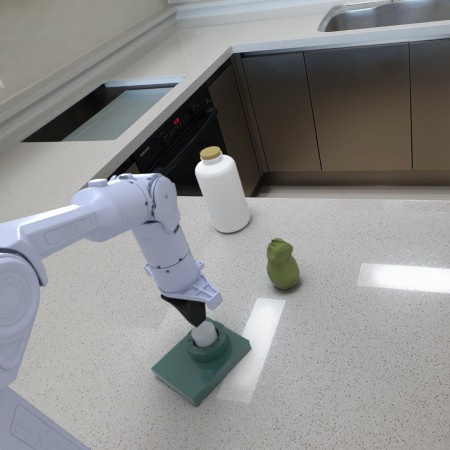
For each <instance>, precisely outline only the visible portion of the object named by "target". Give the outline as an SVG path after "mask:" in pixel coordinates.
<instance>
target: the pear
mask: <svg viewBox="0 0 450 450" xmlns="http://www.w3.org/2000/svg"><path fill="white" fill-rule="evenodd" d="M293 251H294V246H293V244H291V243H289V242H287V241H285V240H284V239H282V238H280V237H275V238H271V241H270V242H269V243H267V247H266V259H267V264H266V273H267V277H268V278H269V280H270V282H271V283H272V284H273V285H274V286H275V287H277V288H278V289H280V290H288V289H291V288H292V287H294V286H295V285H296V284H297V283H298V281H299V279H300V277H301V276H300V275H301V271H300V268H299V265H298V262H297V260H296V259H295V257H294V255H293Z"/></svg>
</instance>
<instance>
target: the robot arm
mask: <svg viewBox="0 0 450 450" xmlns="http://www.w3.org/2000/svg"><path fill="white" fill-rule="evenodd" d="M87 185H88V187H85V188H83V189H80V190H78V191H77V192H76V193H74V195H73V196H72V197H71V199H70V201H69V204H68V205H67V206H64V207H60V208H55V209H52V210H49V211H43V212H40V213H36V214H32V215H28V216H24V217H20V218H16V219H12V220H8V221H4V222H0V450H92V449H91V448H90V447H89V446H87V445H86V444H85V443H84V442H82V441H81V440H79V439H78V438H77V437H76V436H74V435H73V434H71V432H69V431H68V430H67V429H66V428H63V426H61V425H60V424H59V423H57V422H56V421H55V420H53V419H52V418H50V417H49V416H48V415H47V414H46V413H44V412H43V411H42V410H40V409H39V408H38V407H36V406H35V405H34V404H32V403H31V402H29V401H28V400H27V399H26V398H24V397H23V396H22V395H20V394H19V393H17V392H16V391H15V390H14V389H12V388H11V387H10V385H11V384H12V383H14V382H15V381H16V380H17V378H18V374H19V372H20V368H21V365H22V361H23V358H24V355H25V352H26V349H27V345H28V343H29V340H30V337H31V333H32V330H33V327H34V324H35V321H36V318H37V315H38V310H39V306H40V300H41V287H42V288H43V287H44V288H45V287H46V286H47V285H48V282H49V280H48V279H49V278H48V274H47V270H46V268H45V265H44V263H43V260H44V259H46V258H48V257H50V256H52V255H54V254H56V253H58V252H60V251H62V250H64V249H66V248H68V247H70V246H71V245H73V244H76V243H77V242H79V241H82V240H87V241H88V242H89V241H90V242H93V243H103V242H107V241H109V240H111V239H113V238H115V237H117V236H120V235H122V234H125V233H127V232H129V231H131V232H132V235H133V237H134V239H135V241H136V242H137V244H138V247H139V249H140V251H141V253H142V255H143V258H144V259H145V261H146V263H145V264H143V266H142V267H143V269H144V271H145V273H146V274H147V276H148V277H150V278H151V279H152V280H153V282H154V284H155V285H156V287H157V289H158V291H159V292H160V298H161V299H162V300H163V301H165V302H167V303H168V304H170V305H171V306H172V307H174V308H175V309H176V310H177V311H178V313H180V314H181V315H182V317H183V318H184V319H185V320H186V321H187V322H188V323H189V324H190V325H191V326H193V327H194V326H195V327H196V328H197V327H198V326H199V325H201V324H202V323H203V322H204V321H205V320H206V317H207V310H206V309H209V310H210V311H212V312H213V311H214V310H216V309H217V308H218V307H219V306H220V305H221V304H222V303H223V302H224V299H223V297H222V295H221V293H220V290H218V289H216V288H215V287H214V286H213V285H212V284H211V282H210V280H209V279H208V278H207V276H206V275H205V273H204V272H203V271H202V270H203V269H204V268H205V263H204V261H202V260H201V259H198V258H194V255H193V253H192V251H191V248H190V246H189V245H190V244H189V243H188V241H187V238H186V236H185V232H184V230H183V228H182V225H181V224H180V221H181V220H182V218H181V212H180V209H179V206H178V192H177V188H176V184H175V182H172V181H171V180H170V178H168V177H166V176H164V175H162V173H160V172H155V173H138V174H133V173H122V174H119V175H116V174H114V175H112V176H111V177H110V179H109V180H108V179H107V178H98V179H92V180H88V181H87ZM206 307H207V308H206Z"/></svg>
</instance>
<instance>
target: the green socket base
mask: <svg viewBox="0 0 450 450" xmlns="http://www.w3.org/2000/svg"><path fill="white" fill-rule="evenodd" d="M205 321H209V322H211V323H212V324H213V325H214V327H215V329H216V332H217V334H218V337H217V340H216V342H215V343H214V344H213V345H211V346H209V347H206V348H200V347H198V346H197V345H196V344H195V342H194V340H193V338H192V335H191V332H192V329H193V328H191V329H190V330H189V331H188V332H187V334H186V335H185V336H184V337H183V338H182V339H180V341H178V342H177V343H176V345H174V346H173V347H172V348H171V349H170V350H169V351H167V353H166V354H164V356H162V358H160V359H159V360H158V361H157V362H156V363H155V364H154V365H153V366H152V367H150V370H151V372H152V374H153V375H154V377H156V378H157V379H159V380H160V381H161V382H163V383H164V384H165V385H167V387H168V388H169V387H170V388H171V389H172V390H173V391H175V392H176V393H177V394H179V395H180V396H181V397H183V398H184V399H185V400H187V401H188V402H189V403H191V404H192V405H193V406H195V407H198V406H199V405H200V404H201V403H203V401H204V400H205V399H206V397H207V396H208V395H210V393H212V391H213V390H214V389H215V388H216V387H217V386H218V385H219V384H220V382H222V381H223V379H224V378H225V377H227V375H228V374H229V373H230V372H231V371H232V370H233V369H234V368H235V366H236V365H238V363H239V362H240V361H241V360H242V359H243V358H244V357H245V356H247V354H248V353H249V351H250V350H252V346H251V343H250V342H251V341H250V340H249V339H247V338H246V337H244V336H242V335H240V334H239V333H237V332H235V331H233V330H231V329H229V327H226V326H225V324H223V323H222V322H221V321H218V320H214V319H213V318H211V317H209V316H206V320H205Z"/></svg>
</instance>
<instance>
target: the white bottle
mask: <svg viewBox="0 0 450 450" xmlns="http://www.w3.org/2000/svg"><path fill="white" fill-rule="evenodd" d="M199 155H200V160H201V161H199V162H198V163H197V165H196V166H195V169H194V172H195V173H194V174H195V177H196V180H197V183H198V185H199V189H200V191H201V194H202V197H203V200H204V202H205V205H206V208H207V211H208V214H209V217H210V219H211V222H212V225H213V227H214V228H215V230H216V231H218V232H220V233H224V234H225V233H226V234H228V233H229V234H231V233H234V232H238V231H240V230H242V229H243V228H245V227H246V226H247V225H248V223H249V222H250V219H251V213H250V209H249V206H248V202H247V198H246V196H245V195H246V194H245V192H244V189H243V184H242V181H241V177H240V175H239V171H238V168H237V163H236V161H235V160H234V158H233V157H231V156H229V155H227V154H223V151H222V150H221V148H220V147H219V146H214V145H213V146H209V147H205V148H204V149H202V150H201V151H199Z"/></svg>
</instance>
